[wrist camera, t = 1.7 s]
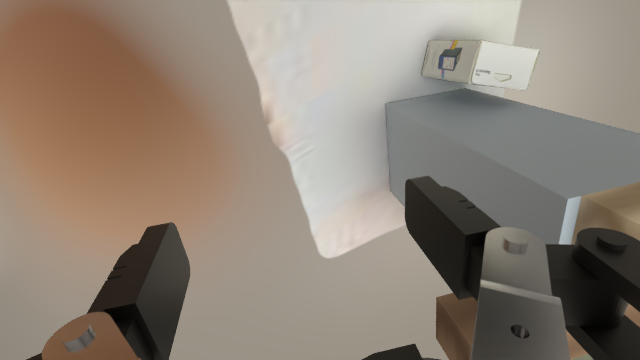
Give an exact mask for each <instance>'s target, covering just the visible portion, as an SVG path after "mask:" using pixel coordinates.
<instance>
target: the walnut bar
mask: <svg viewBox="0 0 640 360" xmlns="http://www.w3.org/2000/svg"><path fill="white" fill-rule="evenodd" d="M476 306H477V301H476V300H475V298H474V297H470V298H466V299H462V300H458V298H457V297H456V296H455V294H454V293H451V294H447V295H444V296H440V297H437V298H436V339H437V340H438V342H439V344H440V345H441V347H442V348H443V350H444V352H445V353H446V355H447V357H448V358H449V360H470V355H471V347H472V339H473V330H474V322H475V314H476ZM625 315H626V316H627V317H628V318H629V319H630V320H632V321H633V322H634V323H635V324H636V325H638V326H639V327H640V312H639V311H637V310H636V309H635V308H634V307H633V306H631V305H630V304H628V306H627V309H626V311H625ZM566 334H567V340H568V347H569V353H570V360H571V359H574V358H578V357H581V356H584V355H588V353H587V352H586V351H585V350H584V349H583V348H582V347H581V346H580V344H579V343H578V342H577V341H576V340H575V339H574V338H573V337H572V336H571V335H570V334H569V333H568V332H567V331H566Z"/></svg>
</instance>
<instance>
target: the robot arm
mask: <svg viewBox="0 0 640 360" xmlns="http://www.w3.org/2000/svg"><path fill="white" fill-rule="evenodd" d="M405 221H406V226H407V228H408V231H409V233H410V234H411V236H412V237H413V239H414V240H415V241H416V242H417V244H418V245H419V247H420V248H421V249H422V251H423V252H424V253H425V255H426V256H427V258H428V259H429V260H430V262H431V263H432V264H433V266H434V267H435V268H436V270H437V271H438V272H439V274H440V275H441V277H442V278H443V279H444V281H445V282H446V283H447V285H448V286H449V287H450V289H451V290H452V291H453V293H454V294H455V296H456V297H457V298H458V300H462V299H466V298H470V297H474V298H475V300H476V301H477V306H476V314H475V322H474V330H473V339H472V347H471V355H470V360H570V353H569V347H568V340H567V334H566V331H567V332H568V333H569V334H570V335H571V336H572V337H573V338H574V339H575V340H576V341H577V342H578V343H579V344H580V346H581V347H582V348H583V349H584V350H585V351H586V352H587V353H588V354H589V355H590V356H591V357H592V358H593V359H594V360H640V327H639V326H638V325H636V324H635V323H634V322H633V321H632V320H630V319H629V318H628V317H627V316H626V315H625V311H626V309H627V306H628V304H630V305H631V306H633V307H634V308H635V309H636V310H637V311H639V312H640V241H639V240H637V239H636V238H634V237H632V236H630V235H627V234H625V233H622V232H619V231H616V230H611V229H606V228H587V229H583V230H581V231H579V232H578V234H577V237H576V240H575V244H574V245H568V244H544V242H543V241H542V240H541V239H540V238H539V237H538V236H536V235H534V234H533V233H531V232H528V231H526V230H522V229H518V228H512V227H501V226H500V225H499V224H497V223H496V222H495V221H494V220H493V219H491V218H490V217H489V216H488V215H487V214H485V213H484V212H483V211H482V210H481V209H479V208H478V207H477V208H476V205H474V204H473V203H472V202H471V201H468V199H467V198H466V197H465V196H464V195H462V194H461V193H460V192H459V191H456V190H454V189H451V188H449V187H446V186H443V187H441V186H440V185H439V184H438V183H437V182H436V181H435V180H433V179H432V178H431V177H430V176H422V177H416V178H411V179H407V180H406V183H405ZM189 278H190V265H189V260H188V257H187V255H186V252H185V249H184V247H183V244H182V241H181V238H180V236H179V233H178V230H177V228H176V226H175V224H174V223H172V222H171V223H166V224H160V225H155V226H150V227H147V229H146V230H145V232H144V234H143V236H142V238H141V240H140V242H139V243H138V244H135V245H132V246H131V247H130V248H129V249H128V250H127V251H125V253H123V254H122V255H121V256H120V257H119V259H118V261H117V263H116V264H115V266H114V268H113V271H111V273H110V275H109V276H108V278H107V279H108V280H107V281H105V283H104V285H103V287H102V289H101V290H100V292H99V293H98V295H97V297H96V299H95V300H94V302H93V304H92V305H91V307H90V309H89V311H88V312H87V314H85V315H82V316H80V317H78V318H76V319H74V320H72V321H70V322H68V323H67V324H65V325H64V326H63V327H61V328H60V329H59V330H58V331H56V332H55V333H54V334H53V336H51V337H50V339H49V340H48V341H47V342H46V344H45V346H44V348H43V350H42V353H40V354H38V355H36V356H34V357H31V358H29V359H27V360H169V356H170V352H171V348H172V344H173V341H174V336H175V333H176V329H177V325H178V321H179V317H180V313H181V310H182V306H183V301H184V298H185V294H186V290H187V286H188V282H189ZM362 360H439V359H432V358H422V357H421V355H420V353H419V351H418V349H417V347H416V345H415V344H411V345H407V346H403V347H399V348H395V349H390V350H387V351H382V352H378V353H374V354H372V355H370V356H368V357H366V358H364V359H362Z"/></svg>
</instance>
